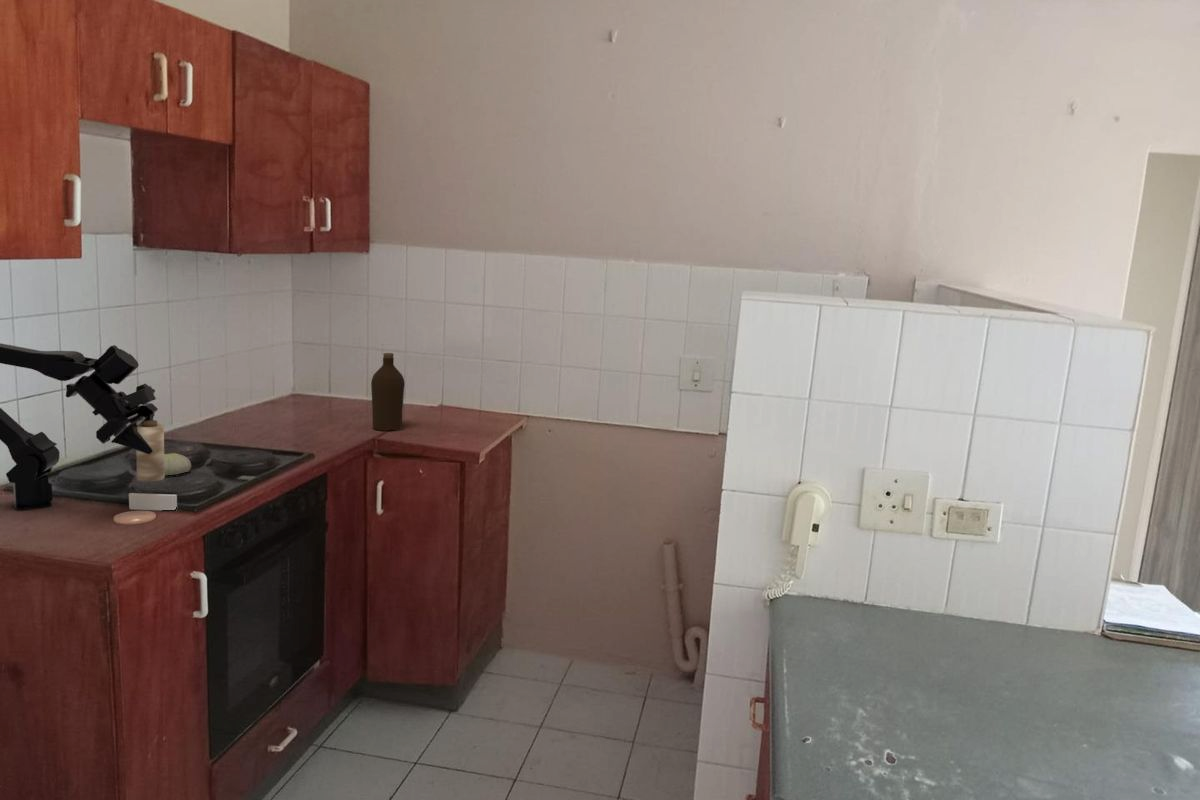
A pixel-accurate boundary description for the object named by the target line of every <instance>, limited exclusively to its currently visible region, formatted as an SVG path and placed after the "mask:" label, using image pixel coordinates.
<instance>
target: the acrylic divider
mask: <svg viewBox="0 0 1200 800" xmlns="http://www.w3.org/2000/svg"><path fill="white" fill-rule="evenodd" d="M177 496H178V495H177V494H165V493H138V492H130V493H128V508H129V510H135V511H162V510H175V509H176V507H177V508H178V497H177Z"/></svg>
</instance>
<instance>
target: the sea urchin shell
mask: <svg viewBox="0 0 1200 800" xmlns="http://www.w3.org/2000/svg"><path fill="white" fill-rule="evenodd" d="M191 469H192V463H191V460H190V459H189V458H188V457H186V456H184V455H182V454H179V453H164V470H165V475H172V474H179V473H184V472H187V473H188V472H190V471H191ZM184 474H185V473H184Z"/></svg>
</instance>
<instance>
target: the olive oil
mask: <svg viewBox="0 0 1200 800" xmlns="http://www.w3.org/2000/svg"><path fill="white" fill-rule="evenodd" d="M382 355H383V357H382V366H381V367H379V368H378V369H377V371H376V372H375V373H374V374H373V376H372V378H371V380H370V381H371V384H370V385H371V386H370V387H371V409H372V410H371V411H372V412H371V413H372V415H371V416H372V429H373V428H374V429H373V430H375V429H377V430H376V431H379V430H396V429H400V428H401V429H402V428H403V427H402V426H403V413H404V411H403V409H404V399H405V397H404V396H405V395H404V394H405V379H404V376H403V374H402V372H401V371H399V370H398V369H397V367H396V366H395V364H394V353H393V352H384V353H382ZM401 429H400V430H401Z"/></svg>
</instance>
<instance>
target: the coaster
mask: <svg viewBox="0 0 1200 800" xmlns="http://www.w3.org/2000/svg"><path fill="white" fill-rule="evenodd" d="M156 514H157V513H156V512H154V511H152V510H131V511H125V512H120V513H117V514H116V515H114V516H113V522H114V524H117V525H123V526H124V525H125V526H133V525H141V524H146V523H149V522H150V523H151V522H152V521H154V520H155V519H156V518H157V515H156Z"/></svg>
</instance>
